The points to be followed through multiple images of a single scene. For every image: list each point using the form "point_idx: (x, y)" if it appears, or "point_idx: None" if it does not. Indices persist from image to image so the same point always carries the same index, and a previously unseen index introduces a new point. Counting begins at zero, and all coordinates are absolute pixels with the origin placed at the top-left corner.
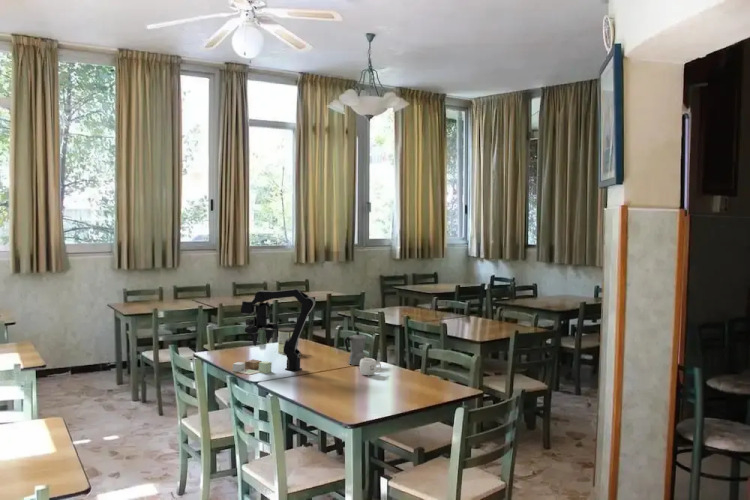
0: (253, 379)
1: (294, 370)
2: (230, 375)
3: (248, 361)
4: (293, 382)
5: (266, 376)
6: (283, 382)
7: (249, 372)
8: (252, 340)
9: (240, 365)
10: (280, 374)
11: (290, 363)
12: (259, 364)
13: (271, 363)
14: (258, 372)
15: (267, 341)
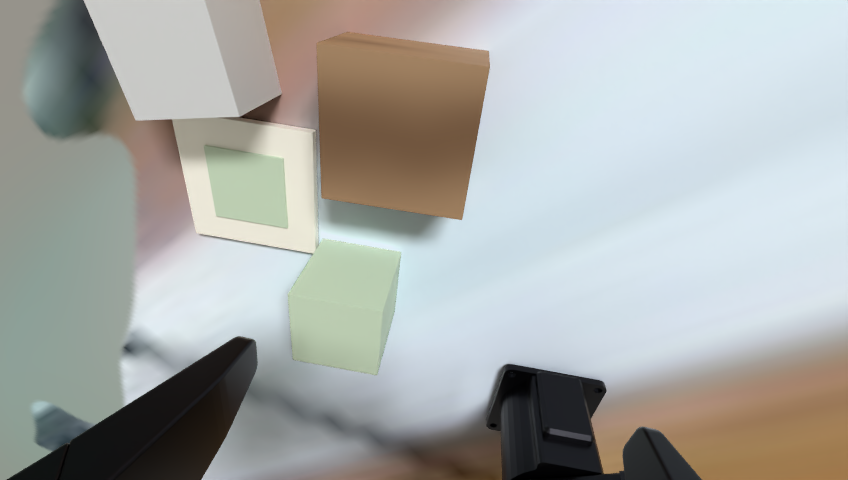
0: (145, 307)
1: (488, 427)
2: (49, 91)
3: (339, 94)
4: (276, 471)
5: (264, 337)
6: (239, 443)
7: (217, 211)
8: (111, 420)
9: (147, 116)
10: (368, 382)
11: (501, 447)
12: (295, 288)
13: (379, 365)
14: (306, 247)
15: (638, 471)
